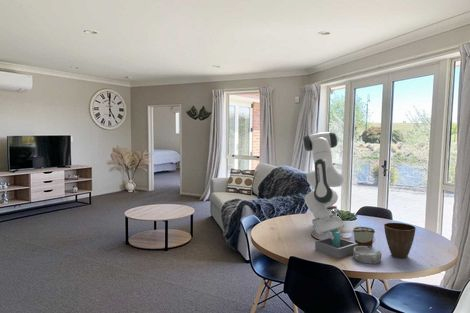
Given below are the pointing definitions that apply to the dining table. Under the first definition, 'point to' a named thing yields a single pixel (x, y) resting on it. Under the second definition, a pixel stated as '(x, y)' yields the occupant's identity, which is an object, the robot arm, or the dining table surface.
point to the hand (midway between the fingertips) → (337, 237)
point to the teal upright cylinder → (336, 239)
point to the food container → (363, 236)
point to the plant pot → (399, 238)
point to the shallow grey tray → (328, 249)
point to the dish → (366, 255)
